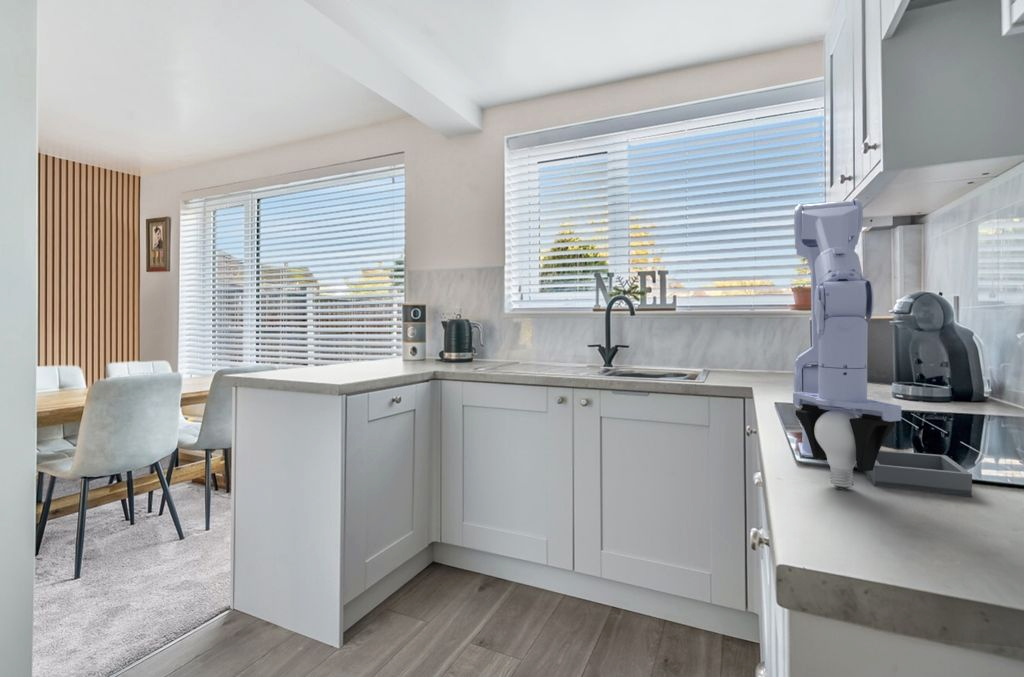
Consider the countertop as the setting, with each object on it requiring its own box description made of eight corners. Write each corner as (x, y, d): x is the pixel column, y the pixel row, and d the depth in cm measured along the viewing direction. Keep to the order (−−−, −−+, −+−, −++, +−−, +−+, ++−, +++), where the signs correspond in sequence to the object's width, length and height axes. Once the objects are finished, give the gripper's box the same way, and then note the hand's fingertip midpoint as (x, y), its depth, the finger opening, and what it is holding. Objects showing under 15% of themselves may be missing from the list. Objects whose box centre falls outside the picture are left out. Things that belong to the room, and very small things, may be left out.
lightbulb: (879, 496, 67) (877, 413, 67) (826, 494, 68) (824, 412, 68) (856, 482, 73) (854, 406, 73) (808, 481, 74) (806, 406, 74)
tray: (861, 467, 81) (861, 448, 81) (945, 475, 76) (946, 455, 76) (874, 486, 71) (874, 465, 71) (971, 496, 67) (972, 474, 67)
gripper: (777, 364, 76) (777, 454, 76) (873, 372, 62) (872, 481, 63) (813, 362, 78) (812, 449, 79) (913, 370, 64) (912, 475, 65)
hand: (841, 463), depth 71 cm, fingers closed on lightbulb, 6 cm apart
